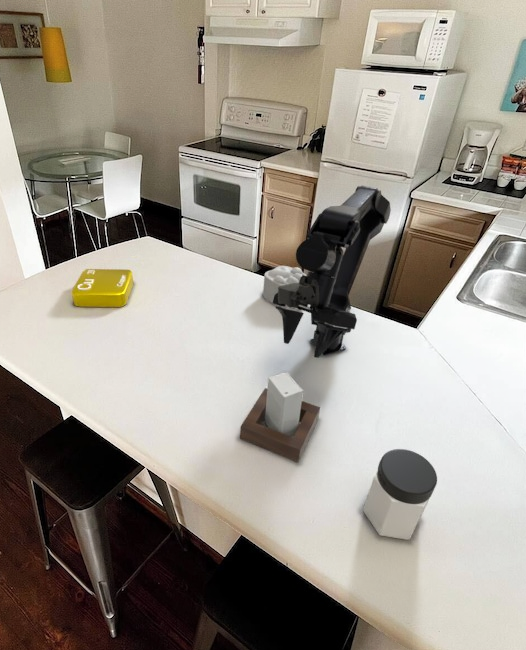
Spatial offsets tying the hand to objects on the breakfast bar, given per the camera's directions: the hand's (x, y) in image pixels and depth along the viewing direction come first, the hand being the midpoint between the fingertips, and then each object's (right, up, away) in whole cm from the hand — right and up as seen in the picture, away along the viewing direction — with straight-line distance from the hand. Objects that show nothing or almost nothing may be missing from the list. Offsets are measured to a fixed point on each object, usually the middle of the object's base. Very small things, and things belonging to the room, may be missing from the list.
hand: (300, 350), depth 89 cm
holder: (-4, -16, -1) cm, 16 cm away
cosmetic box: (-4, -16, -1) cm, 16 cm away
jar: (+12, -27, -16) cm, 33 cm away
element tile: (-51, +14, +41) cm, 67 cm away
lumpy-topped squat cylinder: (+3, +13, +40) cm, 42 cm away
